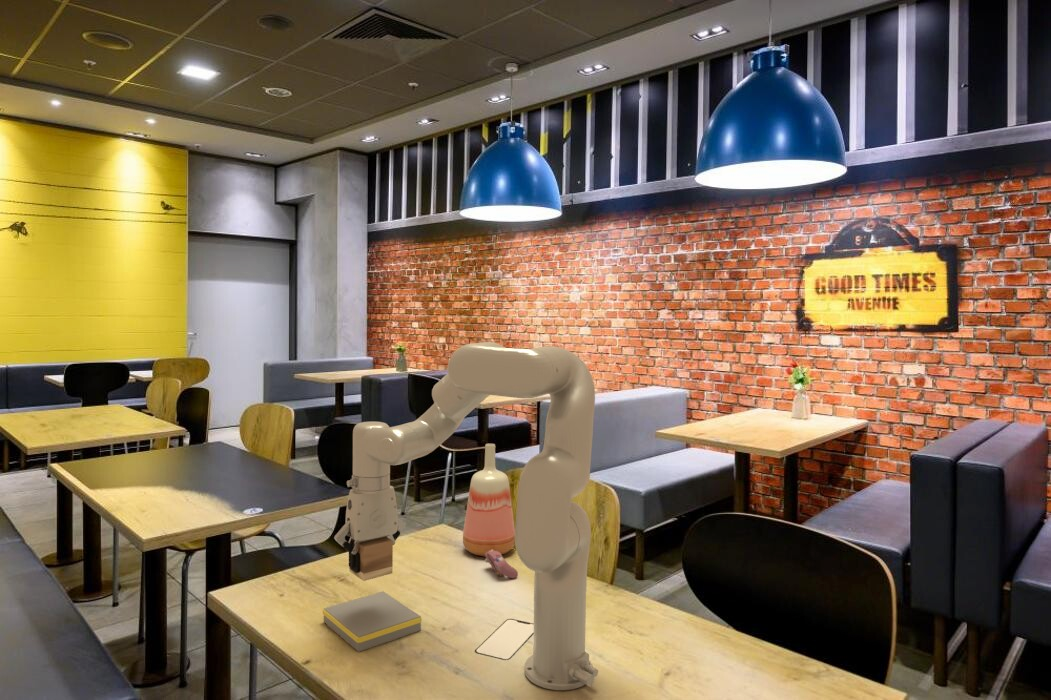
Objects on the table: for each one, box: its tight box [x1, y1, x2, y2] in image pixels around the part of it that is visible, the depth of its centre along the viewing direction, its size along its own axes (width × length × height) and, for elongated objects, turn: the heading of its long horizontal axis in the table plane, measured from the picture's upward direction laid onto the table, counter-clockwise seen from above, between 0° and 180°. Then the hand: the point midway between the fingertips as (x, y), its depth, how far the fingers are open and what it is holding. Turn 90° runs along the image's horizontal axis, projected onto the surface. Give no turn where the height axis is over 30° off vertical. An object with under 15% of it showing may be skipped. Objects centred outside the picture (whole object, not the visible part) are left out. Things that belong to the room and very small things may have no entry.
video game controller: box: [484, 549, 519, 579], centre depth 171 cm, size 10×5×7 cm, turn 25°
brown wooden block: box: [348, 537, 394, 582], centre depth 142 cm, size 6×6×7 cm
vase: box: [462, 443, 515, 557], centre depth 186 cm, size 14×14×30 cm
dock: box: [322, 590, 422, 652], centre depth 142 cm, size 16×14×3 cm
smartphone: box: [474, 618, 534, 661], centre depth 138 cm, size 8×1×16 cm
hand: (370, 566), depth 142 cm, fingers closed on brown wooden block, 6 cm apart
